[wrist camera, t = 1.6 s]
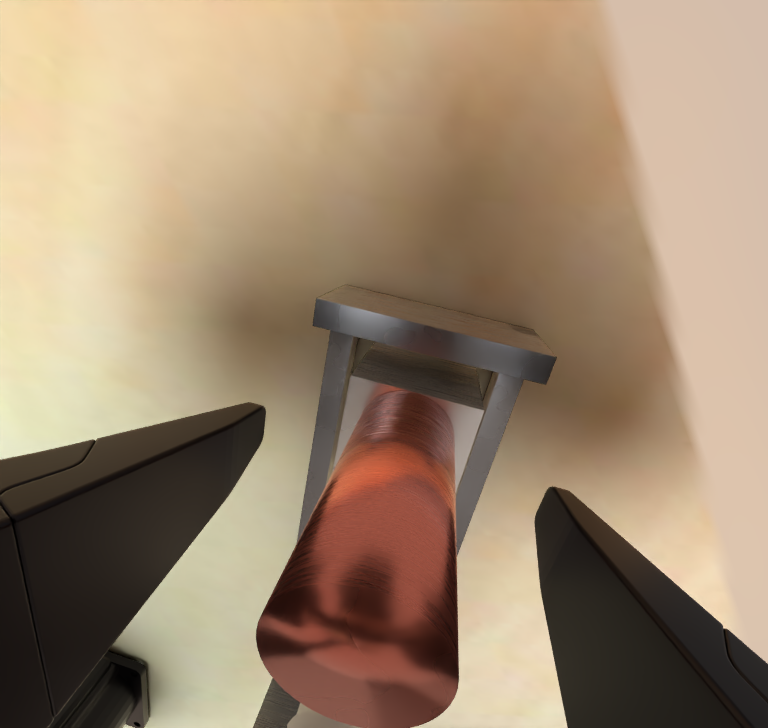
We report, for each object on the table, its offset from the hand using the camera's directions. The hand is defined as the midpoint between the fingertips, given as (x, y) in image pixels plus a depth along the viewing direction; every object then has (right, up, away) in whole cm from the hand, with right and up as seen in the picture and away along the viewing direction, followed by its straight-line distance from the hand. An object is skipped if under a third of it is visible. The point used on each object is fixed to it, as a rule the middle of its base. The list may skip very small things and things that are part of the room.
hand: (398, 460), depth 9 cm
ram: (+1, +1, +5) cm, 5 cm away
